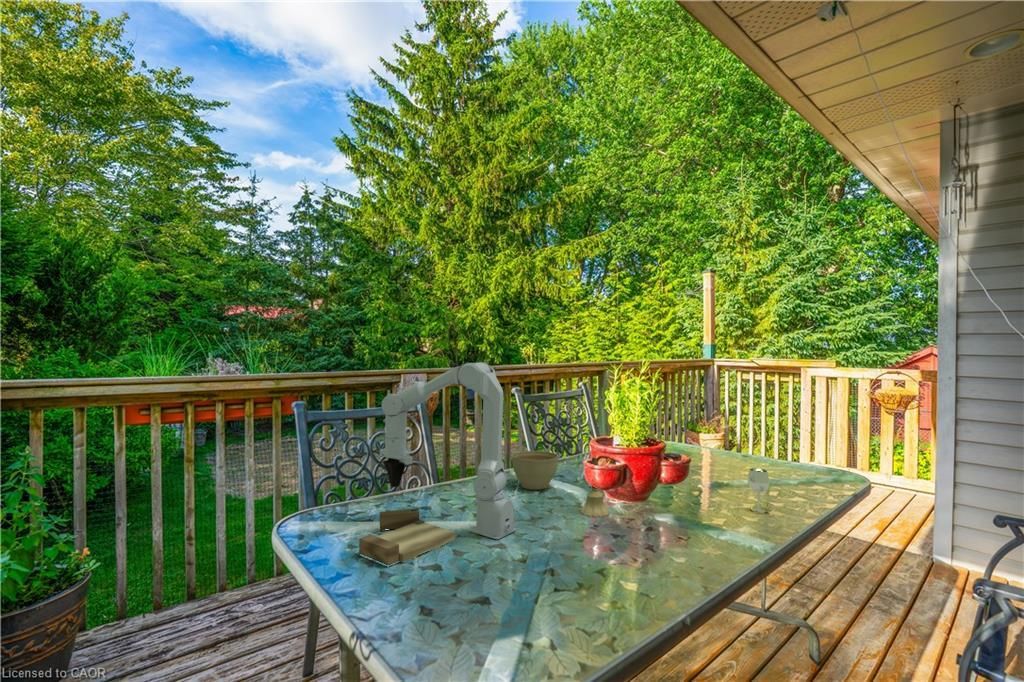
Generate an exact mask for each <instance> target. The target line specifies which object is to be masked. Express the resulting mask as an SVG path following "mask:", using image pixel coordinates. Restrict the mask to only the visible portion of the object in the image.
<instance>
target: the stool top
mask: <svg viewBox="0 0 1024 682" xmlns="http://www.w3.org/2000/svg"><path fill="white" fill-rule="evenodd" d="M456 534H457V533H456V531H453V530H450V529H447V528H444V527H440V526H437V525H434V524H431V523H428V522H425V521H424V520H422V519H419V520H417V521H414V523H412V524H409V525H407V526H404V527H401V528H399V529H395V530H389V531H388V532H386V533H383V534H381V535H378V536H377V535H372V534H368V535H364V536H362V537H359V539H358V540H359V541H358V542H359V544H358V545H359V546H358V554H359V553H360V554H362V555H364V556H367V557H369V558H372V559H374V560H377V561H379V562H381V563H384V564H386V565H391V564H393V563H396V562H398V561H401V562H404V561H407V560H409V559H411V558H414V557H416V556H417V555H420V554H422V553H425V552H427V551H430V550H432V551H434V550H433V549H435V548H437V547H439V548H441V547H443V546H445V545H444V544H445V543H448V542H450V541H452V542H454V541H453V540H455V539H456V538H457V537H456V536H457V535H456ZM455 541H456V540H455ZM450 543H451V542H450ZM448 544H449V543H448ZM442 545H443V546H442ZM440 546H441V547H440ZM437 549H438V548H437ZM435 550H436V549H435ZM430 552H431V551H430ZM414 559H415V558H414Z"/></svg>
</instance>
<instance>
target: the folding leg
mask: <svg viewBox="0 0 1024 682" xmlns="http://www.w3.org/2000/svg"><path fill="white" fill-rule="evenodd" d="M417 520H420V509H419V507H418V508H417V507H414V508H406V509H397V510H396V509H395V510H386V511H379V526H380V527H379V530H385V529H395V530H396V529H399V528H401V527H404V526H407V525H409V524H412V523H414V521H417Z"/></svg>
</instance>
